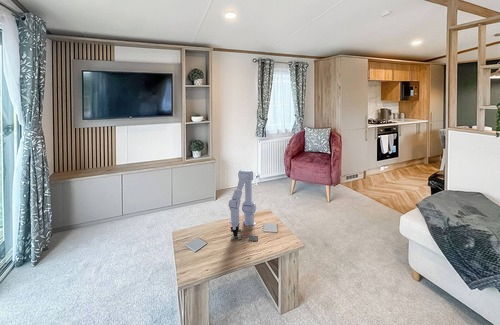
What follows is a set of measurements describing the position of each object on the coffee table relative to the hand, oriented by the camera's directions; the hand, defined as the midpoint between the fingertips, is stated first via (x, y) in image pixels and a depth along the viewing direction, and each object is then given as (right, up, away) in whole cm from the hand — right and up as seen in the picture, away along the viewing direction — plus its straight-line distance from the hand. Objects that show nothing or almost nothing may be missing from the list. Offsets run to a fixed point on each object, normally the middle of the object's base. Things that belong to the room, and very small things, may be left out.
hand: (235, 234), depth 182 cm
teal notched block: (0, -1, 0) cm, 1 cm away
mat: (+12, -3, 0) cm, 13 cm away
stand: (0, -3, +1) cm, 3 cm away
